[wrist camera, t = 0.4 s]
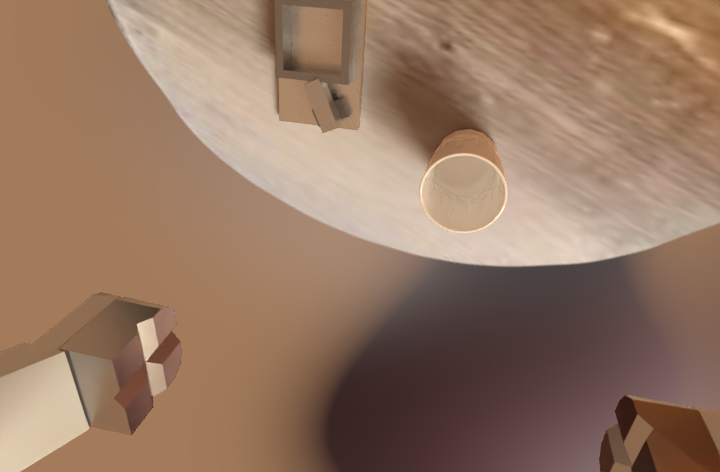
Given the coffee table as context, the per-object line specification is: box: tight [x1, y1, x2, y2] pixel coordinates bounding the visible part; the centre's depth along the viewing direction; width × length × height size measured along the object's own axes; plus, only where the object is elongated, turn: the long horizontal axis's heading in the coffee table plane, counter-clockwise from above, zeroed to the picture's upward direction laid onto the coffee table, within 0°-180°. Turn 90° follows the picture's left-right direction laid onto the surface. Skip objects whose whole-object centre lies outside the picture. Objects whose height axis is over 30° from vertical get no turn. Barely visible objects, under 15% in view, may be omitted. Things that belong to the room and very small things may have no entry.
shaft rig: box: [274, 0, 367, 133], centre depth 49 cm, size 18×9×4 cm, turn 176°
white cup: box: [419, 129, 508, 233], centre depth 49 cm, size 8×8×10 cm
